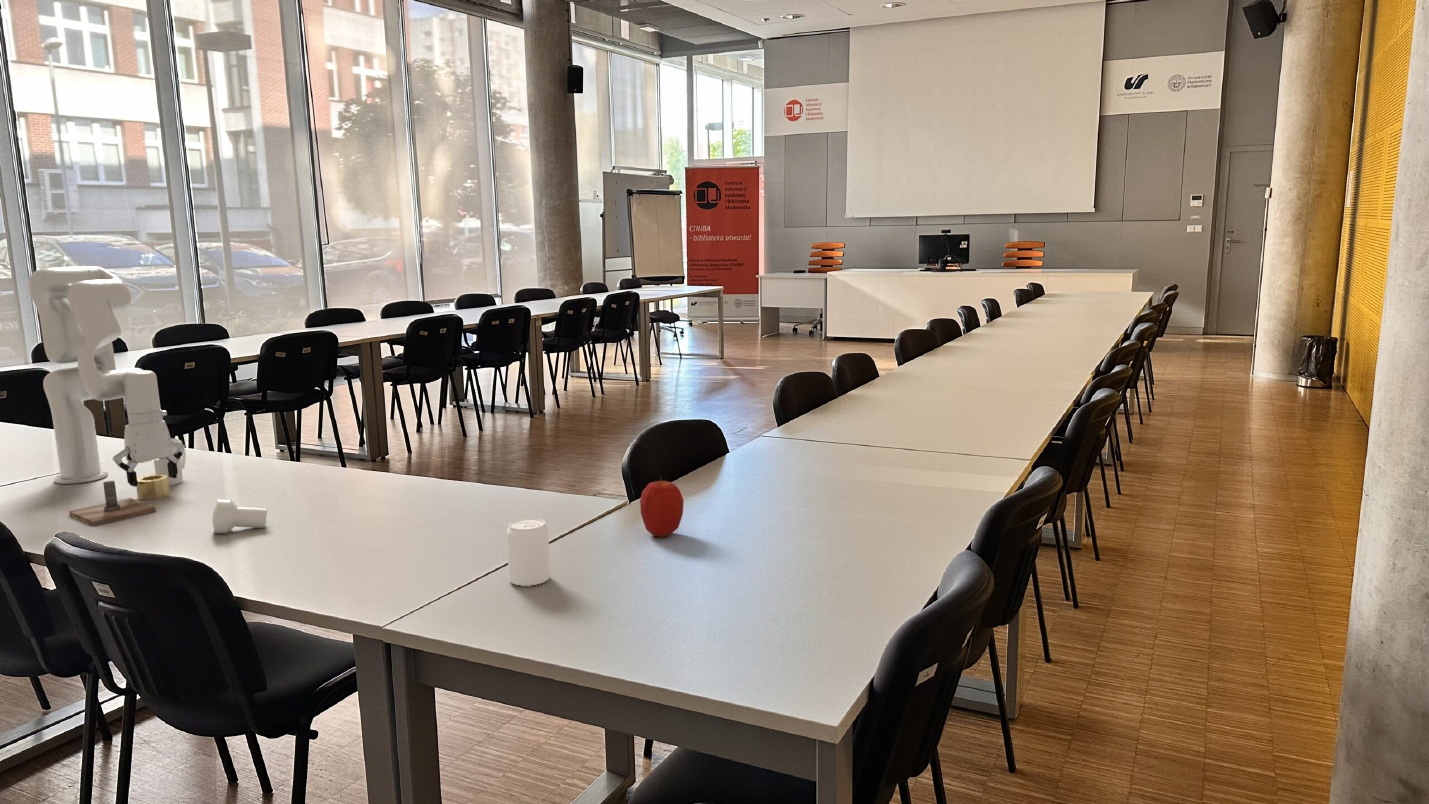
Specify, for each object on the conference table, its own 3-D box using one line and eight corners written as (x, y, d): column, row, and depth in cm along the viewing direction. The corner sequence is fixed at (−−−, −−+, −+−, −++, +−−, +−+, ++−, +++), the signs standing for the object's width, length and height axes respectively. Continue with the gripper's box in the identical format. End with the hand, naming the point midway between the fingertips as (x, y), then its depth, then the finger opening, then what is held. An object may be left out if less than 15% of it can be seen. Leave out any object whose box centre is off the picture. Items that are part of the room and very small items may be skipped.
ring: (133, 497, 245) (131, 478, 244) (162, 490, 251) (160, 473, 250) (145, 501, 241) (143, 483, 240) (174, 495, 247) (172, 477, 246)
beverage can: (511, 573, 190) (509, 517, 188) (551, 572, 190) (549, 516, 188) (506, 589, 182) (503, 530, 180) (548, 587, 183) (545, 529, 180)
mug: (171, 486, 255) (166, 444, 253) (150, 485, 256) (145, 443, 254) (198, 477, 264) (193, 436, 262) (177, 476, 266) (172, 435, 263)
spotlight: (211, 523, 219) (215, 492, 217) (264, 525, 225) (268, 495, 223) (209, 539, 213) (214, 507, 211) (264, 541, 218) (269, 510, 216)
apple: (667, 545, 206) (666, 485, 204) (630, 537, 211) (629, 478, 209) (692, 532, 215) (692, 474, 212) (657, 525, 220) (656, 468, 217)
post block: (69, 515, 230) (65, 483, 228) (131, 502, 241) (127, 471, 239) (93, 526, 221) (88, 493, 220) (155, 511, 232) (152, 480, 231)
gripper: (173, 411, 251) (181, 472, 254) (102, 422, 237) (111, 487, 240) (186, 413, 246) (194, 476, 249) (114, 425, 233) (124, 491, 236)
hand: (153, 481), depth 245 cm, fingers open, 9 cm apart
